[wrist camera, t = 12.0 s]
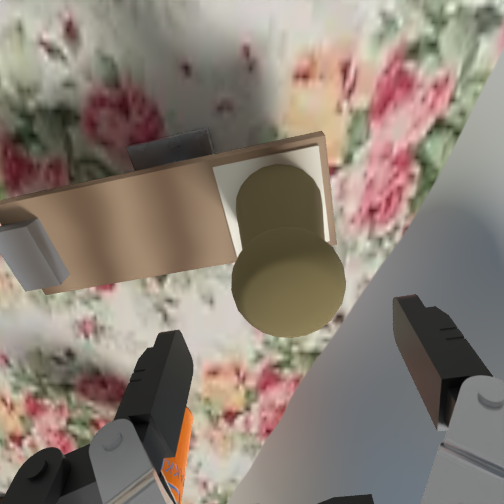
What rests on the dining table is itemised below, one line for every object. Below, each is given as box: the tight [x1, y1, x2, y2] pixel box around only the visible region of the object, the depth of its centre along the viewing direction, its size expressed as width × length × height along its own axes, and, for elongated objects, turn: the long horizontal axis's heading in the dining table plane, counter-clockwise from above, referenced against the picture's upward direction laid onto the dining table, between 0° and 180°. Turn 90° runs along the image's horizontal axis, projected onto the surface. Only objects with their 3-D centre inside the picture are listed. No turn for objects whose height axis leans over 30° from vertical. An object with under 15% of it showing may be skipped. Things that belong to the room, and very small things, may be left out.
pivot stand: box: [126, 127, 215, 171], centre depth 29 cm, size 10×7×6 cm
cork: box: [231, 164, 346, 338], centre depth 19 cm, size 6×6×11 cm
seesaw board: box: [0, 131, 337, 295], centre depth 25 cm, size 24×8×3 cm, turn 102°
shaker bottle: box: [161, 407, 193, 504], centre depth 39 cm, size 9×9×20 cm
